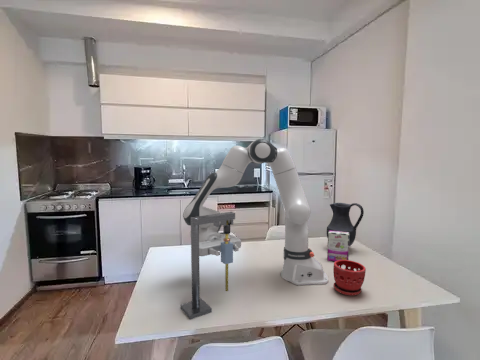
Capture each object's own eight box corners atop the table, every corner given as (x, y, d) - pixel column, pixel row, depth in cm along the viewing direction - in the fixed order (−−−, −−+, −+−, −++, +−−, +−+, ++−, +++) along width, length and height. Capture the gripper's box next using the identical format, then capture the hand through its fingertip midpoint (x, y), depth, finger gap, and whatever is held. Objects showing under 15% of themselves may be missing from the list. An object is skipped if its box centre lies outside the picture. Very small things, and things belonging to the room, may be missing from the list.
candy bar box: (348, 260, 165) (349, 232, 163) (348, 263, 160) (349, 234, 158) (327, 257, 169) (328, 229, 167) (326, 260, 164) (327, 232, 162)
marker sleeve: (228, 259, 123) (228, 240, 122) (232, 262, 120) (233, 243, 119) (220, 261, 121) (220, 242, 120) (225, 264, 118) (225, 244, 117)
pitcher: (331, 243, 194) (333, 198, 190) (364, 250, 182) (367, 202, 178) (321, 251, 180) (323, 202, 176) (357, 258, 168) (359, 206, 164)
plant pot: (347, 300, 122) (348, 273, 120) (326, 287, 134) (327, 261, 132) (371, 294, 127) (372, 268, 126) (348, 281, 139) (349, 257, 137)
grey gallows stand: (227, 293, 127) (227, 210, 123) (238, 302, 120) (239, 214, 116) (180, 308, 115) (178, 217, 111) (190, 319, 108) (188, 222, 104)
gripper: (189, 239, 124) (204, 248, 113) (230, 231, 135) (248, 239, 124) (189, 253, 125) (205, 264, 113) (230, 245, 136) (248, 254, 125)
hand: (228, 251), depth 119 cm, fingers open, 7 cm apart
